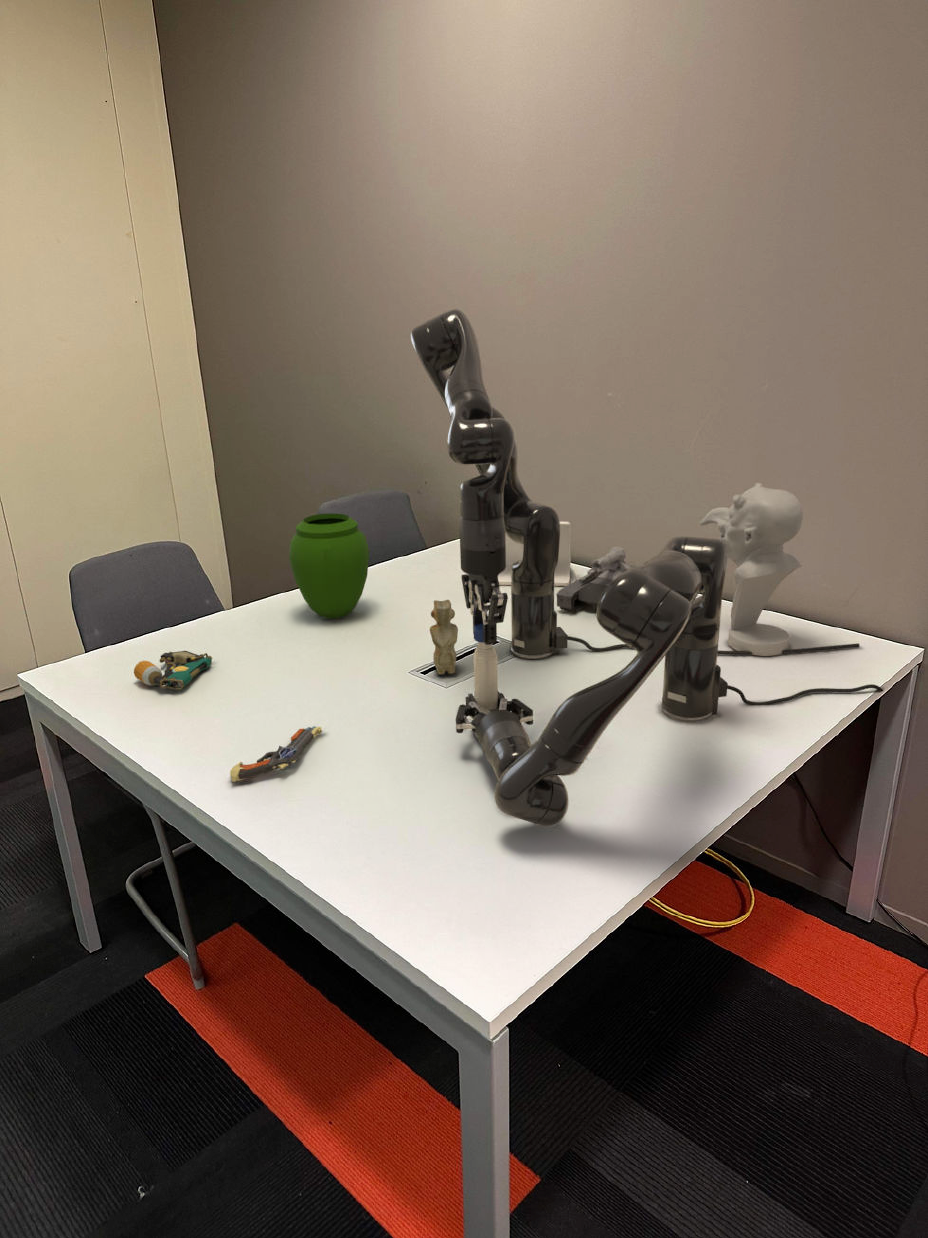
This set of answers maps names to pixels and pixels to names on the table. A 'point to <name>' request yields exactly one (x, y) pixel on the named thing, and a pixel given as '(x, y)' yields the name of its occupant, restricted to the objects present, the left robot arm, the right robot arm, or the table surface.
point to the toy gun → (277, 756)
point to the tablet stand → (563, 566)
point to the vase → (329, 563)
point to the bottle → (486, 676)
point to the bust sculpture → (758, 561)
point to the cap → (478, 632)
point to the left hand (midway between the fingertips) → (484, 638)
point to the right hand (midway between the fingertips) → (483, 697)
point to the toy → (593, 581)
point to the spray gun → (172, 669)
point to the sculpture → (444, 637)
